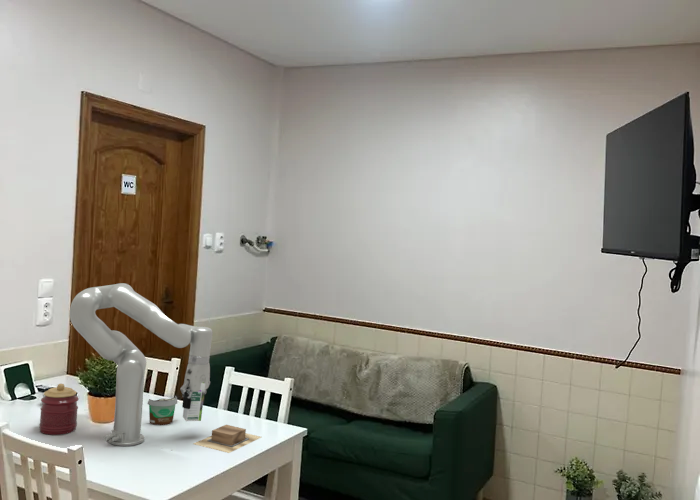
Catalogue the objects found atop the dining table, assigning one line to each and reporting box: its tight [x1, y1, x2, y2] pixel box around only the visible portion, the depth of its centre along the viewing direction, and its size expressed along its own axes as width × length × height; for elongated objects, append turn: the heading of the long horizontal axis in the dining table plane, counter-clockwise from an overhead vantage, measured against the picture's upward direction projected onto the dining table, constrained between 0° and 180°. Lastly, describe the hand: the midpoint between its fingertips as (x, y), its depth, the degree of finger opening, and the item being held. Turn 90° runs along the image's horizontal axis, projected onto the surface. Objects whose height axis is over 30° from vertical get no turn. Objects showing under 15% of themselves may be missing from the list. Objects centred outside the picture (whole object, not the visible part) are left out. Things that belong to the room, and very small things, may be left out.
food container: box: [147, 395, 178, 426], centre depth 260 cm, size 12×6×10 cm, turn 131°
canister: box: [38, 383, 79, 436], centre depth 242 cm, size 13×13×18 cm
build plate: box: [192, 433, 262, 454], centre depth 242 cm, size 22×16×2 cm
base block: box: [211, 424, 247, 446], centre depth 242 cm, size 9×9×4 cm
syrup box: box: [182, 382, 205, 422], centre depth 242 cm, size 6×6×14 cm
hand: (193, 405), depth 242 cm, fingers closed on syrup box, 7 cm apart
